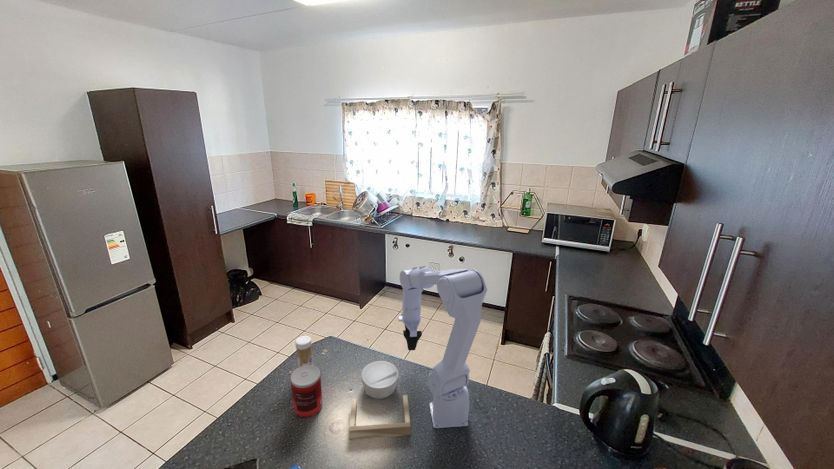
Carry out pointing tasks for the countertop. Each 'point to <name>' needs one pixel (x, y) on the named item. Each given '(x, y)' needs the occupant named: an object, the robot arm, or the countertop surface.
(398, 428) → the birch dock
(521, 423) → the countertop surface
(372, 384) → the ramekin
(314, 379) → the canned food
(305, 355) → the sprinkles bottle
